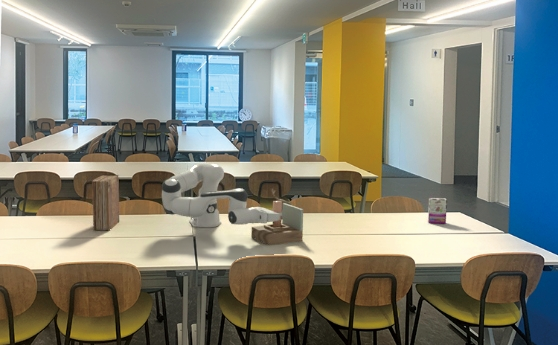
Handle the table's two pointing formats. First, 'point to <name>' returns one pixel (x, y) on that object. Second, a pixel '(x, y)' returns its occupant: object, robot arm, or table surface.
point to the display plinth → (282, 228)
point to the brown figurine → (280, 200)
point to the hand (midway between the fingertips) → (278, 212)
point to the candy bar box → (437, 210)
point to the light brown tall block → (277, 208)
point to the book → (105, 202)
